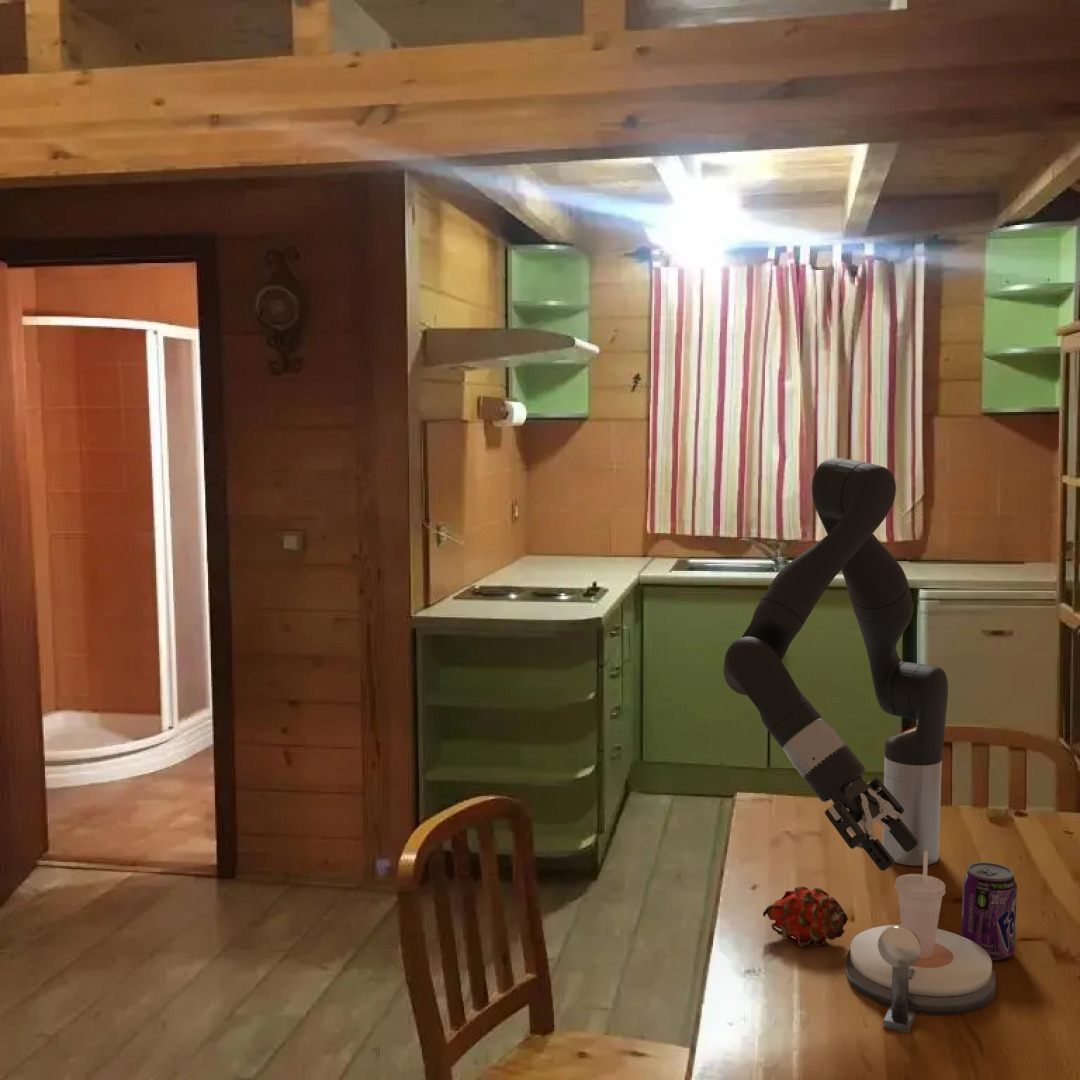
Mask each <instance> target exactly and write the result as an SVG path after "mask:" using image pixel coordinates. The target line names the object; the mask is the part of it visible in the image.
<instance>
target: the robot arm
mask: <svg viewBox="0 0 1080 1080" xmlns="http://www.w3.org/2000/svg"><path fill="white" fill-rule="evenodd" d="M896 485H897V483H896V480H895V475H893V473H892V472H891V470H889V469H888V468H887V467H885V466H881V465H879V464H874V463H871V462H864V461H860V460H854V459H850V458H849V459H848V458H843V457H842V458H841V457H833V458H828V459H826V460H824V461H822V462H821V463H820V464H819V465H818V466H817V468H816V470H815V471H814V475H813V478H812V484H811V493H812V494H811V495H812V500H813V505H814V508H815V511H816V512H817V515H818V517H819V519H820V522H821V525H822V527H823V528H824V530H825V532H826V534H827V535H826V536H824V537H823V538H822V539H821V540H820V541H818V542H817V543H815V544H814V545H813V546H811V547H810V548H809V549H807V550H805V551H804V552H803V553H801V554H800V555H798V556H797V557H795V558H794V559H792V560H791V561H790V562H788V563H787V564H786V565H785V566H784V567H783V568H782V569H780V571H779V572H778V573H777V574H776V576H775V577H774V578H773V580H772V581H771V583H770V584H769V587H768V588H767V589H766V591H765V593H764V594H763V596H762V597H761V599H760V601H759V602H758V603H757V606H756V608H755V610H754V612H753V615H752V618H751V621H750V624H749V625H748V627H747V628H746V629H745V630H744V631H745V632H744V633H743V635H741V637H739V638H738V639H736V640H734V641H733V642H732V643H731V644H730V645H729V646H728V648H727V650H726V653H725V655H724V662H723V663H724V664H723V677H724V680H725V683H726V684H727V686H728V687H729V688H730V689H731V690H732V691H733V692H735V693H737V694H739V695H743V696H747V697H748V698H749V699H750V701H751V702H752V704H753V705H754V706H755V708H756V709H757V711H758V713H759V717H760V719H761V721H762V724H763V725H764V726H765V728H766V729H767V731H768V732H769V733H770V735H771V736H772V737H773V739H774V740H775V741H776V742H777V744H778V745H779V746H780V747H781V749H782V750H783V751H784V753H785V755H786V756H787V758H788V759H789V761H790V762H791V764H792V766H793V767H794V768H795V770H796V771H797V772H798V773H799V774H800V775H801V778H803V779H804V781H805V782H806V783H807V785H808V786H809V787H810V789H811V790H812V791H813V792H814V794H815V795H816V796H817V797H818V799H819V800H820V801H821V802H823V803H827V802H830V801H832V805H831V806H829V807H828V808H826V810H825V811H824V815H825V816H826V818H827V819H828V820H829V821H830V823H831V824H832V825H833V827H834V828H835V829H836V830H837V831H836V832H837V833H838V834H839V835H840V836H841V838H842V839H843V840H844V842H845V843H846V844H847V846H848V847H849V848H850V849H852V850H853V849H855V848H859V849H860V850H864V852H865V853H866V854H867V855H868V856H869V858H870V859H871V860H872V861H873V862H874V864H875V865H876V867H877V868H878V869H879V870H880V871H882V872H885V871H886V870H887V869H889V868H890V867H891V866H893V865H894V864H895V863H896V864H898V865H905V866H913V867H918V866H919V867H923V854H924V850H927V851H928V866H929V865H933V864H936V863H937V862H938V861H939V857H940V856H939V855H940V854H939V853H940V851H939V850H940V833H941V832H940V831H941V830H940V829H941V799H942V798H941V797H942V767H943V766H942V765H943V750H944V743H945V736H946V734H945V733H946V721H947V719H946V718H947V708H948V696H949V681H948V677H947V673H946V672H945V670H944V669H943V668H941V667H940V666H935V665H929V664H923V663H917V662H916V663H915V662H909V661H903V660H902V659H901V658H900V657H899V654H898V652H897V645H898V642H899V641H900V639H901V637H902V636H903V634H904V633H905V631H906V629H907V628H908V626H909V624H910V622H911V620H912V617H913V614H914V606H915V605H914V601H913V596H912V593H911V589H910V585H909V582H908V578H907V576H906V574H905V571H904V569H903V567H902V566H901V564H900V563H899V562H898V561H897V559H896V558H895V557H894V556H893V554H892V553H891V552H890V551H889V549H887V547H886V546H885V545H883V543H882V542H881V541H880V540H879V539H878V538H877V537H876V535H875V534H874V532H876V530H877V529H878V528H879V527H880V526H881V525H882V523H883V521H884V520H885V519H886V518H887V516H888V514H889V512H891V509H892V507H893V505H894V502H895V498H896V492H897V486H896ZM840 572H841V573H842V576H843V579H844V582H845V584H846V588H847V593H848V596H849V597H848V598H849V599H850V603H851V605H852V609H853V612H854V614H855V618H856V620H857V623H858V626H859V629H860V633H861V635H862V638H863V642H864V645H865V649H866V654H867V657H868V663H869V669H870V673H871V678H872V684H873V689H874V694H875V697H876V700H877V703H878V705H879V708H880V709H881V710H882V711H883V712H884V713H886V714H888V715H892V716H895V717H901V718H906V719H914V720H917V722H916V723H917V724H916V728H915V730H914V731H909V732H906V733H905V732H904V733H901V734H895V735H892V736H890V737H888V738H887V739H886V741H885V743H884V760H883V762H884V768H883V772H884V773H883V783H882V781H881V780H880V779H879V778H878V777H874V778H872V779H870V780H869V781H868V782H866V781H865V780H863V778H862V776H863V775H864V774H865V772H866V767H865V766H864V765H863V764H862V762H861V761H860V759H859V758H858V757H857V756H856V755H855V753H854V752H853V751H852V750H851V749H850V747H849V746H848V745H847V744H846V743H845V741H844V740H843V739H842V737H841V736H840V735H839V734H838V732H837V731H836V730H835V729H834V728H833V727H832V726H831V725H830V724H829V723H828V722H827V721H826V720H825V719H824V718H822V715H821V714H820V713H819V712H818V711H817V709H816V708H815V707H814V706H813V704H812V703H811V702H810V701H809V700H808V699H807V697H805V695H804V694H803V693H802V692H801V691H800V689H799V688H798V686H797V685H796V682H795V681H794V679H793V678H792V676H791V674H790V673H789V671H788V669H787V668H786V666H785V665H784V663H783V661H782V660H783V659H784V656H785V655H786V653H787V650H788V649H789V647H790V645H791V643H792V642H793V641H794V639H795V638H796V636H797V635H798V633H799V632H800V631H801V630H802V628H803V626H804V624H805V623H806V621H807V619H808V618H809V616H810V615H811V613H812V612H813V609H814V608H815V606H816V605H817V604H818V602H819V600H820V598H821V596H823V594H824V593H825V591H826V590H827V588H828V587H829V585H830V584H831V583H832V582H833V580H834V579H835V578H836V576H837V575H839V573H840ZM877 823H879V824H880V825H882V838H881V839H882V841H880V840H879V839H878V838H876V835H875V832H874V829H873V824H877ZM851 835H852V836H851ZM881 842H882V843H881Z"/></svg>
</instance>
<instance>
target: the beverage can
mask: <svg viewBox="0 0 1080 1080" xmlns="http://www.w3.org/2000/svg"><path fill="white" fill-rule="evenodd" d="M965 873H966V874H965V875H964V876H963V879H962V899H961V901H962V902H961V904H962V905H961V924H960V925H961V928H960V931H961V932H960V936H962V937H965V938H967V939H969V940H971V941H973V942H974V943H976V944H978V945H979V946H981V947H982V948H983V949H984V950H985V951H986V952H987V953H988V954H989V956H990V958H991V961H999V960H1003V959H1005V958H1009V957H1012V956H1013V955H1014V954H1015V946H1016V923H1017V895H1018V885H1017V882H1016V880H1015V872H1014V870H1013V869H1012V868H1010V867H1008V866H1006V865H1003V864H1000V863H995V862H989V861H979V862H972V863H970V864H968V865H967V867H966V872H965Z"/></svg>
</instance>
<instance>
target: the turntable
mask: <svg viewBox="0 0 1080 1080" xmlns="http://www.w3.org/2000/svg"><path fill="white" fill-rule="evenodd" d="M894 925H895V924H888V925H881V926H875V927H872V928H869V929H868V928H867V929H866V930H864V931H861V932H860V933H858V934H857V935H855V936H854V937H853V939H852V940H851V942H850V949H851V951H850V959H851V962H852V964H853V966H854V967H855V969H856V970H857V971H858V972H859V973H860V974H862V975H863V976H865V977H866V978H868V979H869V980H871V981H873V982H875V983H877V984H879V985H882V986H885V987H887V988H890V989H892V966H891V965H890V964H888V963H887V962H886V961H885V960H884V959H883V958H882V957H881V955H880V953H879V950H878V940H879V937H880V935H881V934H882V932H883V931H884V930H885V929H886V928H888V927H890V926H894ZM899 925H900V926H901V924H899ZM992 968H993V960H991V958H990V956H989V954H988V953H987V952H986V951H985V950H984V949H983V948H982V947H981V946H979V945H978V944H976V943H974V942H973V941H971V940H969V939H967V938H965V937H962V936H961V934H960V935H959V934H957V933H954V932H951V931H948V930H944V929H940V928H937V932H936V938H935V944H934V950H933V955H932V956H931V957H929V958H918V960H917V962H916V963H915V964H914V965H912V966H911V967H909V991H908V993H910V994H915V995H923V996H942V997H945V996H957V995H964V994H968V993H972V992H975V991H977V990H979V989H981V988H983V987H984V986H986V985H987V984H988V983H989V981H990V979H991V975H992Z"/></svg>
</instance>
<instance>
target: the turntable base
mask: <svg viewBox="0 0 1080 1080" xmlns="http://www.w3.org/2000/svg"><path fill="white" fill-rule="evenodd" d="M850 951H851V948H849V950H848V951H847V954H846V960H845V961H846V963H845V964H846V965H845V968H846V969H845V974H846V977H847V980H848V982H849V984H850V985H851V987H853V988H854V989H855V991H857V992H859V993H860V994H861V993H862V996H864V995H865V997H866V996H867V997H866V998H868V999H869V998H870V1000H872V1001H874V1002H876V1003H878V1004H880V1003H881V1004H880V1005H883V1006H886V1007H889V1008H890V1006H891V997H892V989H890V988H887V987H885V986H882V985H879V984H877V983H875V982H873V981H871V980H869V979H868V978H866V977H865V976H863V975H862V974H860V973H859V972H858V971H857V970H856V969H855V967H854V966H853V964H852V962H851V959H850ZM995 994H996V971H995V969H994V968H993V967H992V975H991V979H990V981H989V983H988V984H987V985H986V986H984V987H983V988H981V989H979V990H977V991H975V992H972V993H968V994H964V995H957V996H945V997H942V996H923V995H915V994H910V993H908V1010H911V1011H915V1014H920V1013H923V1014H922V1015H929V1014H930V1015H931V1016H932V1015H933V1016H950V1015H951V1016H952V1015H962V1014H965V1013H971V1012H974V1011H977V1010H980V1009H982V1008H984V1007H985V1006H987V1005H988V1004H990V1002H991V1001H992V1000H993V998H995Z"/></svg>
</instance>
